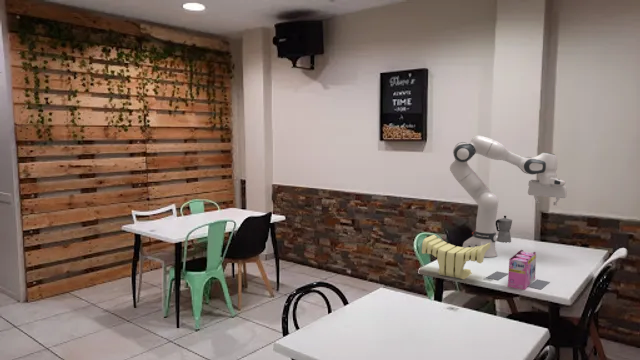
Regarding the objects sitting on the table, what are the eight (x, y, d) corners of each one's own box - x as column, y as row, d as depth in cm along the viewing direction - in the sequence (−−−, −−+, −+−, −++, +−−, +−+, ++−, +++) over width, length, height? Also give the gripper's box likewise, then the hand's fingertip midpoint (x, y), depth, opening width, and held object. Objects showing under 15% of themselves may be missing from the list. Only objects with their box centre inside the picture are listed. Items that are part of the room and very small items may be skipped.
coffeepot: (505, 239, 317) (506, 214, 315) (516, 241, 309) (517, 216, 307) (489, 240, 310) (490, 215, 309) (500, 243, 302) (501, 217, 300)
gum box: (519, 274, 232) (520, 249, 231) (536, 277, 227) (537, 251, 226) (507, 286, 213) (508, 258, 212) (525, 290, 208) (526, 261, 207)
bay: (485, 277, 226) (485, 277, 226) (496, 271, 237) (496, 271, 237) (540, 289, 209) (540, 289, 209) (550, 282, 220) (550, 281, 220)
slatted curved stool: (421, 273, 233) (422, 239, 231) (432, 266, 246) (433, 234, 244) (479, 284, 216) (481, 248, 214) (488, 276, 228) (490, 242, 227)
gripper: (527, 179, 262) (525, 202, 263) (565, 182, 248) (563, 206, 250) (530, 179, 267) (529, 201, 268) (568, 181, 253) (566, 205, 254)
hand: (546, 204), depth 259 cm, fingers open, 8 cm apart
